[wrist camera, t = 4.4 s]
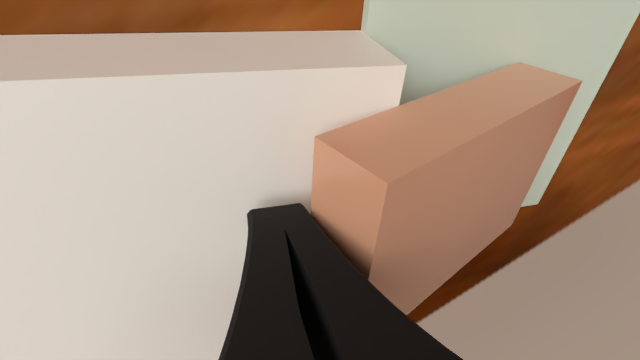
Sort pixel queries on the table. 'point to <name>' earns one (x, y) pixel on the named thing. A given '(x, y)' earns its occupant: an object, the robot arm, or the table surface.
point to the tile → (436, 176)
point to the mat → (504, 48)
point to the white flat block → (157, 176)
